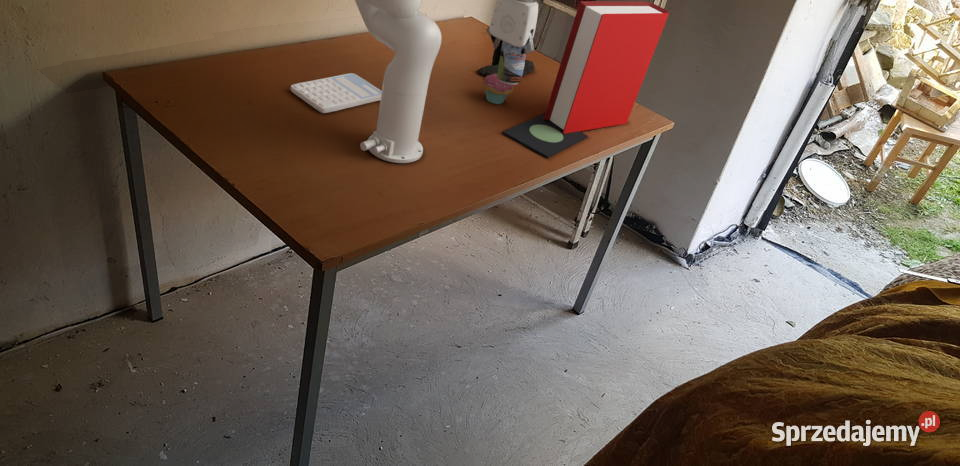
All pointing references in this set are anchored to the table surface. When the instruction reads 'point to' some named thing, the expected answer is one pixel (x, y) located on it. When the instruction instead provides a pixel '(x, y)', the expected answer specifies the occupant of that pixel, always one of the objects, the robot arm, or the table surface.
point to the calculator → (337, 92)
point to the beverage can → (511, 64)
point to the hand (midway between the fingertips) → (503, 67)
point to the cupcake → (496, 89)
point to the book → (604, 63)
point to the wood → (494, 69)
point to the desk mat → (543, 136)
